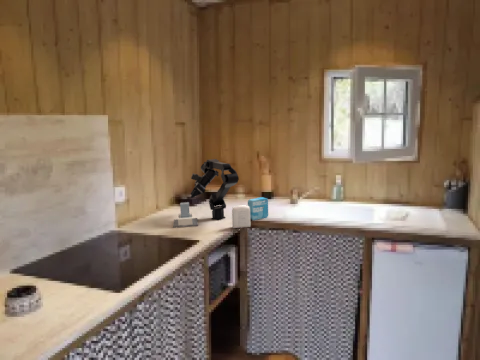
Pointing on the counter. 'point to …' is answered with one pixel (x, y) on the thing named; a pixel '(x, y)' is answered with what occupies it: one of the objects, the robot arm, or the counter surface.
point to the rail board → (185, 221)
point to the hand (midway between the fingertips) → (191, 196)
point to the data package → (258, 208)
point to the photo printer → (241, 216)
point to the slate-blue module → (184, 210)
